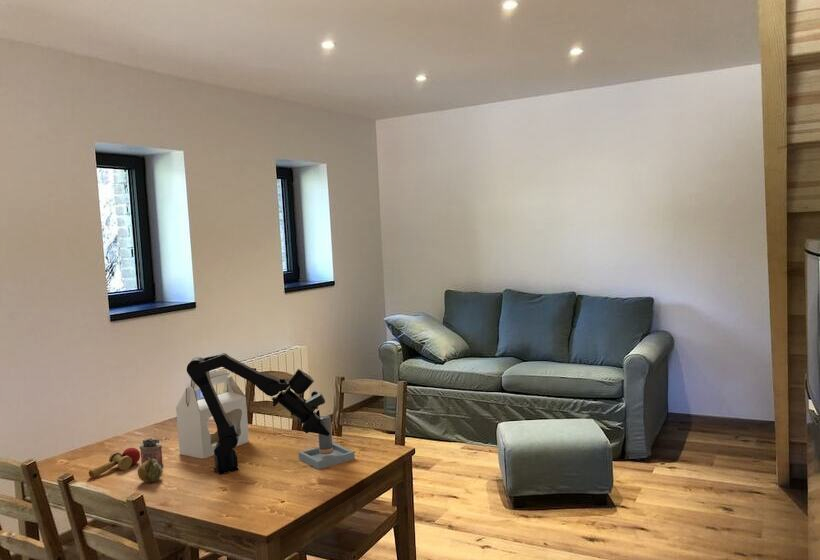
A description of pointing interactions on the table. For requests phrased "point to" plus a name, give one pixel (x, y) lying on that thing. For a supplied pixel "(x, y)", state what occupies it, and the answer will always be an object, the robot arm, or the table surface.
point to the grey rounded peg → (325, 441)
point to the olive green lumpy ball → (150, 471)
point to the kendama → (118, 461)
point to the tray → (326, 456)
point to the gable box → (197, 413)
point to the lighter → (151, 451)
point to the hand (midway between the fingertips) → (328, 432)
